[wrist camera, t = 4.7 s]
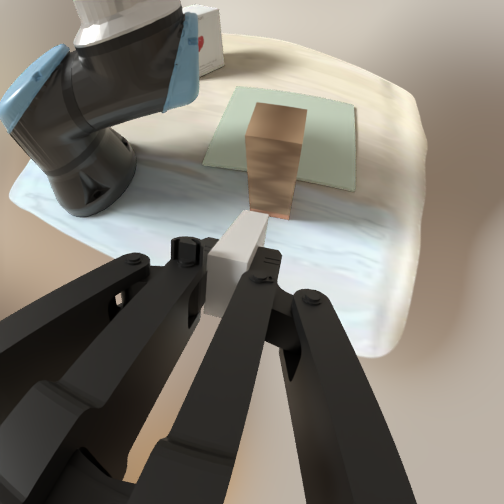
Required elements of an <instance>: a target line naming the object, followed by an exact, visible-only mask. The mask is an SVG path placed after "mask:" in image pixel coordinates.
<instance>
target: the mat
mask: <svg viewBox="0 0 504 504" xmlns="http://www.w3.org/2000/svg"><path fill="white" fill-rule="evenodd" d="M257 102H259V103H268V104H275V105H282V106H289V107H295V108H301V109H307V117H306V123H305V130H304V137H303V143H302V149H301V155H300V161H299V166H298V172H297V178H296V180H300V181H306V182H311V183H316V184H320V185H325V186H330V187H334V188H339V189H343V190H348V191H352V192H355V189H356V145H355V117H354V105H352V104H348V103H344V102H339V101H335V100H330V99H326V98H321V97H315V96H310V95H305V94H299V93H292V92H286V91H278V90H271V89H262V88H252V87H240V86H237V87H236V89H235V91H234V93H233V95H232V97H231V99H230V101H229V103H228V105H227V107H226V110H225V112H224V114H223V116H222V118H221V120H220V123H219V125H218V127H217V129H216V132H215V134H214V136H213V139H212V141H211V143H210V145H209V148H208V150H207V153H206V155H205V157H204V160H203V162H202V164H203V166H211V167H219V168H227V169H234V170H241V171H247V159H246V144H245V134H246V131H247V128H248V125H249V122H250V119H251V117H252V114H253V111H254V108H255V105H256V103H257Z"/></svg>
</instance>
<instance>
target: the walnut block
mask: <svg viewBox="0 0 504 504" xmlns="http://www.w3.org/2000/svg"><path fill="white" fill-rule="evenodd" d="M306 117H307V109H301V108H295V107H289V106H282V105H275V104H268V103H259V102H257V103H256V105H255V108H254V111H253V114H252V117H251V119H250V122H249V125H248V128H247V131H246V134H245V144H246V159H247V174H248V188H249V203H250V211H254V212H259V213H265V214H269V216H270V217H276V218H281V219H286V220H289V215H290V210H291V205H292V199H293V194H294V189H295V183H296V178H297V172H298V166H299V161H300V155H301V149H302V143H303V137H304V130H305V123H306Z"/></svg>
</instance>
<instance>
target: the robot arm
mask: <svg viewBox="0 0 504 504" xmlns="http://www.w3.org/2000/svg"><path fill="white" fill-rule="evenodd" d="M73 2H74V5H75V7H76V10H77V12H78V15H79V18H80V20H81V27H80V29H79V31H78V33H77V35H76V37H75V39H74V46H75V48H76V50H75V51H73V52H70V51H69V50H70V49H69V47H67V46H66V45H65V44H60V45H57V46H55V47H53V48H52V49H50V50H49V51H47V52H46V53H45V54H43V55H42V56H41V57H39V58H38V59H37V60H36V61H35V62H33V63H32V64H31V65H30V66H29V67H28V68H27V69H26V70H25V71H24V72H23V73H22V74H21V75H20V76H19V77H18V78H17V79H16V80H15V81H14V83H13V84H12V85H11V86H10V88H9V89H8V90H7V92H6V93H5V95H4V96H3V98H2V100H1V102H0V120H1V121H2V123H3V124H4V126H5V127H6V129H7V132H8V133H9V134H10V135H11V137H12V138H13V139H14V140H15V141H16V142H17V143H18V145H19V146H20V147H21V148H22V149H23V150H24V151H25V152H26V153H27V155H28V156H29V157H30V158H31V159H32V160H33V161H34V162H35V163H36V164H37V165H38V166H39V167H40V168H41V169H42V171H43V172H44V173H45V174H46V175H47V177H48V179H49V182H50V184H51V187H52V189H53V192H54V194H55V196H56V199H57V201H58V202H59V204H60V205H61V206H62V207H63V208H64V209H65V210H66V211H67V212H68V213H70V214H71V215H74V216H79V217H84V216H90V215H93V214H96V213H98V212H100V211H102V210H104V209H105V208H107V207H108V206H110V205H111V204H112V203H113V202H114V201H116V200H117V199H118V198H119V197H120V196H121V194H122V193H123V192H124V191H125V189H126V188H127V187H128V185H129V183H130V182H131V180H132V178H133V175H134V173H135V169H136V155H135V153H134V151H133V149H132V147H131V145H130V143H129V142H128V141H127V140H126V139H125V138H124V137H123V136H121V135H120V134H119V133H117V132H116V131H115V130H113V129H112V128H111V126H114V125H117V124H120V123H123V122H126V121H130V120H133V119H136V118H140V117H143V116H147V115H150V114H154V113H158V112H162V113H165V112H167V110H170V109H173V108H177V107H181V106H185V105H188V104H190V103H192V102H193V101H194V100H195V99H196V98H197V96H198V93H199V46H198V15H197V14H196V13H190V12H185V13H184V14H183V11H182V6H181V1H180V0H73ZM268 218H269V214H265V213H259V212H254V211H248V210H243V211H242V212H241V214H240V215H239V216H238V217H237V219H236V220H235V221H234V222H233V223H232V225H231V226H230V227H229V228H228V230H227V231H226V232H225V233H224V235H223V236H222V237H221V238H220V239H215V238H210V237H208V238H205V239H203V240H200V239H198V238H195V237H188V236H185V237H177V238H174V239H172V240H171V260H170V261H169V262H168V263H167V264H166V265H165V266H150V259H149V257H148V256H146V255H144V254H141V253H130V254H126V255H123V256H121V257H119V258H117V259H114V260H112V261H110V262H109V263H106V264H104V265H102V266H100V267H99V268H96V269H94V270H92V271H90V272H89V273H87V274H85V275H83V276H81V277H79V278H77V279H75V280H73V281H71V282H69V283H67V284H66V285H63V286H62V287H60V288H58V289H56V290H54V291H52V292H51V293H49V294H47V295H45V296H43V297H41V298H40V299H38V300H36V301H34V302H32V303H31V304H29V305H27V306H25V307H24V308H22V309H20V310H18V311H17V312H15V313H13V314H11V315H10V316H8V317H6V318H5V319H3V320H1V321H0V504H223V503H224V499H225V496H226V492H227V489H228V485H229V482H230V478H231V475H232V470H233V467H234V463H235V459H236V455H237V451H238V448H239V444H240V440H241V436H242V432H243V429H244V425H245V421H246V416H247V413H248V409H249V404H250V401H251V396H252V392H253V388H254V384H255V379H256V375H257V371H258V367H259V363H260V358H261V354H262V350H263V345H264V341H266V342H268V343H271V344H273V345H275V346H277V347H279V356H280V361H281V366H282V372H283V377H284V382H285V388H286V393H287V398H288V404H289V409H290V415H291V420H292V425H293V431H294V437H295V442H296V448H297V453H298V459H299V464H300V470H301V475H302V481H303V486H304V492H305V498H306V504H417V503H416V500H415V497H414V494H413V491H412V488H411V485H410V483H409V480H408V477H407V475H406V472H405V469H404V466H403V464H402V461H401V458H400V456H399V453H398V451H397V448H396V446H395V443H394V441H393V438H392V436H391V433H390V431H389V428H388V426H387V423H386V421H385V419H384V416H383V414H382V411H381V409H380V407H379V404H378V402H377V400H376V398H375V395H374V393H373V391H372V388H371V386H370V384H369V382H368V380H367V377H366V375H365V373H364V371H363V369H362V366H361V364H360V362H359V360H358V358H357V355H356V353H355V351H354V349H353V347H352V345H351V343H350V341H349V338H348V336H347V334H346V332H345V330H344V328H343V326H342V324H341V322H340V320H339V318H338V316H337V314H336V312H335V310H334V308H333V306H332V304H331V302H330V300H329V299H328V297H327V296H326V295H324V294H322V293H321V292H319V291H317V290H311V289H301V290H298V291H296V292H295V294H294V295H292V294H289V293H287V292H285V291H284V290H282V289H281V288H280V287H279V285H278V283H277V279H278V274H279V269H280V264H281V259H282V255H281V253H280V252H279V250H274V249H269V248H264V242H265V236H266V230H267V224H268ZM119 293H121V298H122V303H121V304H119V305H117V304H116V299H115V296H116V295H117V294H119ZM203 305H204V314H208V315H212V316H216V317H220V318H222V320H221V321H220V324H219V326H218V328H217V330H216V332H215V335H214V337H213V339H212V341H211V343H210V346H209V348H208V350H207V352H206V355H205V356H204V359H203V361H202V363H201V365H200V368H199V370H198V372H197V374H196V376H195V378H194V381H193V383H192V385H191V387H190V390H189V391H188V394H187V396H186V398H185V401H184V402H183V405H182V407H181V409H180V411H179V413H178V416H177V418H176V420H175V422H174V424H173V426H172V429H171V431H170V433H169V434H168V436H167V437H166V438H163V439H160V440H159V441H158V442H157V444H156V445H155V447H154V449H153V450H152V452H151V454H150V456H149V458H148V460H147V462H146V464H145V466H144V469H143V471H142V473H141V475H140V477H139V479H138V481H137V483H136V484H134V483H129V482H125V481H122V480H123V478H124V475H125V473H126V469H127V457H128V454H129V452H130V450H131V448H132V446H133V443H134V442H135V440H136V438H137V436H138V434H139V432H140V430H141V428H142V427H143V425H144V423H145V421H146V419H147V417H148V415H149V413H150V411H151V410H152V408H153V406H154V404H155V402H156V400H157V398H158V396H159V394H160V393H161V391H162V388H163V387H164V385H165V383H166V381H167V380H168V378H169V376H170V374H171V372H172V370H173V368H174V367H175V365H176V363H177V361H178V359H179V357H180V356H181V354H182V352H183V350H184V348H185V346H186V344H187V342H188V341H189V339H190V337H191V335H192V334H193V331H194V330H195V328H196V326H197V324H198V323H199V321H200V313H201V308H202V306H203Z"/></svg>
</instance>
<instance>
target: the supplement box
mask: <svg viewBox="0 0 504 504" xmlns="http://www.w3.org/2000/svg"><path fill="white" fill-rule="evenodd" d="M182 11H183V14H184V13H185V12H190V13H196V14H197V15H198V46H199V77H201V76H203V75H205V74H207V73H209V72H212V71H214V70H216V69H218V68H220V67H223V66H224V55H223V45H222V35H221V26H220V16H219V9H218V8H214V7H207V6H202V5H196V4H194V5H191V6H188V7H185V8H182Z"/></svg>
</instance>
